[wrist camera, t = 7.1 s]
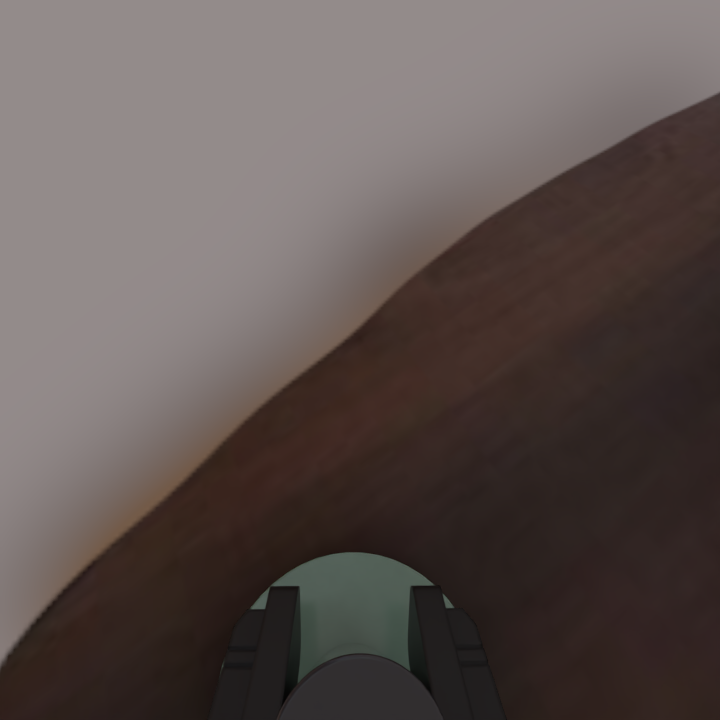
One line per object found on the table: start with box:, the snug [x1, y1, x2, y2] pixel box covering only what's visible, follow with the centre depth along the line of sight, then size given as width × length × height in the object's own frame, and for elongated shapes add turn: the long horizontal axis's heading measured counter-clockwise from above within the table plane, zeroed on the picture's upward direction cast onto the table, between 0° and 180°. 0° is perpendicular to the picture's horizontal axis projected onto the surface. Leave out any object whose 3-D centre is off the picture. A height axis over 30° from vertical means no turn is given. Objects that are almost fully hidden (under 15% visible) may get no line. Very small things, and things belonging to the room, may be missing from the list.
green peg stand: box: [219, 552, 454, 720], centre depth 11 cm, size 8×8×9 cm
